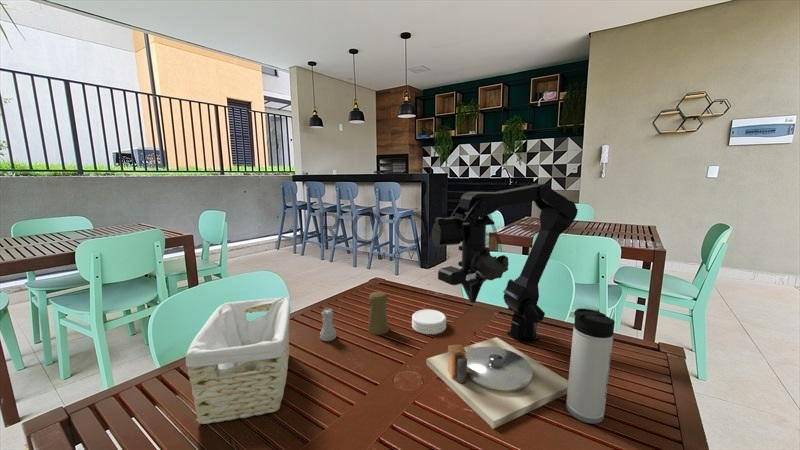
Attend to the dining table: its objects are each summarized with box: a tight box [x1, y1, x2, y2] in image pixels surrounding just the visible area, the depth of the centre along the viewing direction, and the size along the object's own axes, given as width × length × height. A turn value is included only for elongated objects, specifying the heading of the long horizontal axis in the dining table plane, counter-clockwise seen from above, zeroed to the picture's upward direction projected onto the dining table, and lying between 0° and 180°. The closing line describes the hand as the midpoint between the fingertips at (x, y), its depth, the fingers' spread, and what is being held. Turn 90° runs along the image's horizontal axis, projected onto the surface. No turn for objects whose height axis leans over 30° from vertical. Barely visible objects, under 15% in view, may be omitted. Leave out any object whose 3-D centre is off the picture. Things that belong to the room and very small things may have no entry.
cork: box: [367, 291, 390, 336], centre depth 93 cm, size 6×6×11 cm
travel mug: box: [565, 308, 616, 425], centre depth 60 cm, size 6×7×20 cm
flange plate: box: [447, 343, 533, 392], centre depth 72 cm, size 18×15×6 cm
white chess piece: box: [319, 307, 337, 342], centre depth 89 cm, size 4×4×8 cm
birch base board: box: [426, 336, 569, 430], centre depth 72 cm, size 22×22×6 cm
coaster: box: [411, 309, 447, 335], centre depth 96 cm, size 10×10×4 cm
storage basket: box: [185, 296, 291, 425], centre depth 69 cm, size 24×16×15 cm
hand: (472, 302), depth 84 cm, fingers closed
